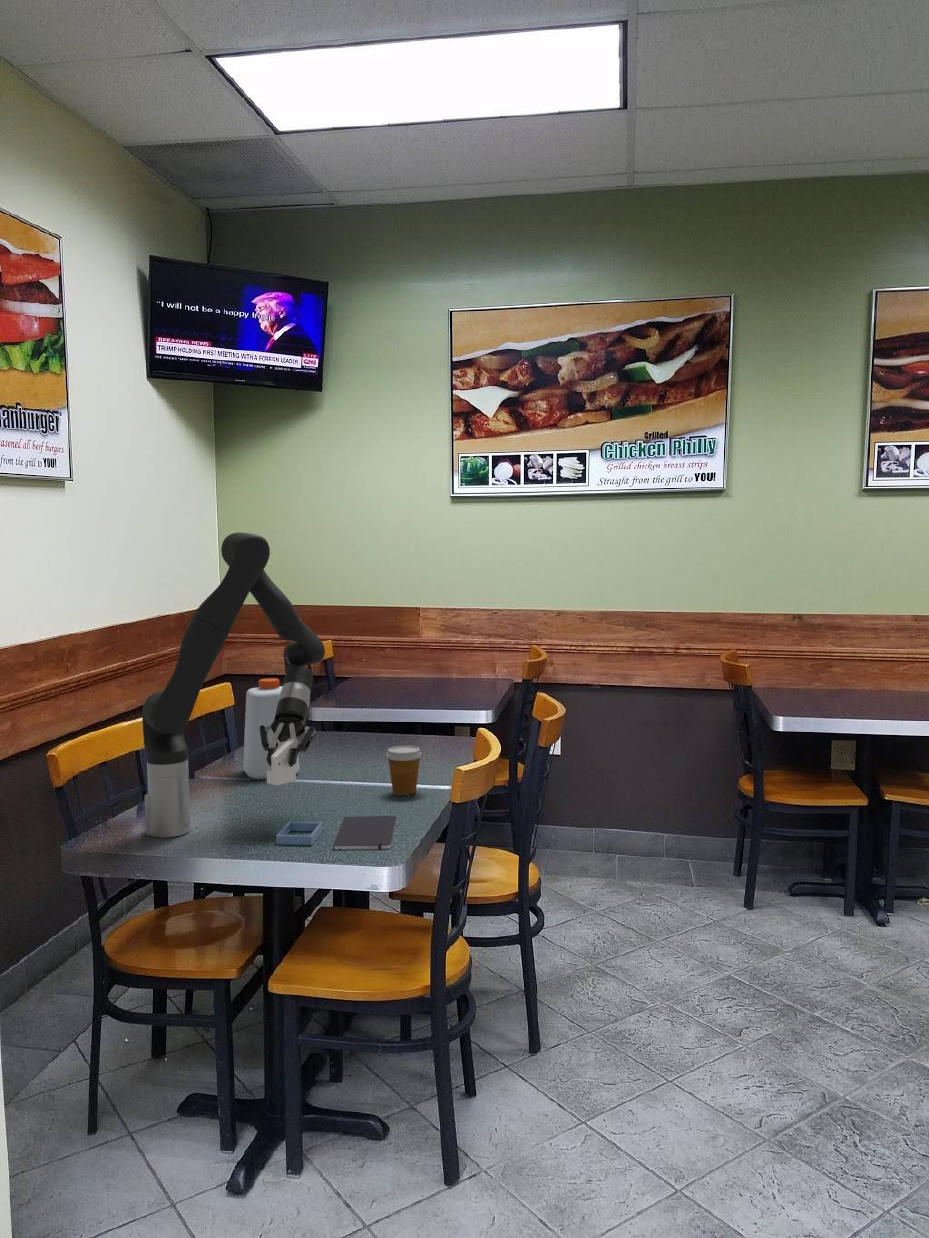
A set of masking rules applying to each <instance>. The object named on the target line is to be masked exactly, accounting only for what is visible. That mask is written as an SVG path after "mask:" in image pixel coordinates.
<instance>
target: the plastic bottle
mask: <svg viewBox="0 0 929 1238" xmlns="http://www.w3.org/2000/svg"><path fill="white" fill-rule="evenodd" d="M282 687H283V685H282V686H280V679H279V678H273V677H272V678H270V677H269V678H261V679H259V680H258V687H252V688H249V689H248V690H247V691H246V695H245V696H246V697H245V716H244V717H245V719H244V738H243V739H244V740H243V763H242V764H243V765H242V769H243V771H244V773H246V775H247V776H248V777H249V778H250V779H253V780H267V770H269V769H271V766H270V765H269V764H268V762H267V754H268V751H265V750H264V748H263V746H262V742H261V734H260V726H262V725H263V726H264V727H267V726H271V724H272V723H273V722H274V719H275V714H276V709H277V705H278V700H279V696H280V692H281V690H282ZM273 735H274V733H273V731H271V732H270V734H269V736H267V737H268V744H270V742H271V741H272V737H273ZM285 742H286V741H284V742H282V743H281V745H280V746H279V747H278V749H279V748H281V746H282V745H283V744H284V743H285ZM278 749H277V750H278ZM277 750H276V751H277ZM299 772H300V760H299V755H298V756H297V762H296V775H297V774H298V773H299Z"/></svg>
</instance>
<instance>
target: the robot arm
mask: <svg viewBox="0 0 929 1238" xmlns="http://www.w3.org/2000/svg"><path fill="white" fill-rule="evenodd" d="M270 550H271V549H270V545H269V543H268V541H267V539H266V538H265V537H264V536H262V535H259V534H255V533H247V532H233V533H230V534H228V535H227V536H226V537H225V538H224V540H223V541H222V543H221V548H220V552H221V556H222V560H223V561H224V562H225V563H226V565H227V566H228V569H227V571H226V573H225V575H224V578H223V579H222V581H221V582H220V583H219V585H218V586H217V587H216V589H215V590H213V592H212V593H211V594H209V595H208V596H207V597H206V599H204V601H202V602H201V604H200V605H199V606H198V608H196V610H195V612H194V614H193V615H192V617H191V619H190V621H189V623H188V625H187V627H186V629H185V632H184V634H183V636H182V640H181V641H180V648H179V651H178V656H177V660H176V665H175V669H174V671H173V673H172V675H171V677H170V678H169V681H168V683H167V684H166V686H165V687H164V690H159V691H155V692H153V693H151V695H149V696H148V697H147V698H146V700H144V704H143V706H142V711H141V712H142V715H141V717H142V733H143V746H144V750H145V754H146V768H147V769H146V773H147V775H146V776H147V793H146V794H145V795H144V814H145V816H144V817H145V821H144V822H145V836H151V837H153V838H159V839H160V838H161V839H162V838H163V839H164V838H165V839H166V838H175V837H180V836H183V835H186V834H188V833H190V832H191V829H192V828H191V821H192V820H191V806H190V805H191V803H190V801H191V800H190V799H191V798H190V777H189V776H190V774H189V773H190V772H189V748H188V746H187V744H186V743H187V742H186V740H185V736H184V728H185V726H187V724H188V723H189V721H190V718H191V715H192V713H193V711H194V708H195V705H196V703H197V699H198V696H199V694H200V692H201V689H202V687H203V684H204V682H205V680H206V678H207V676H208V675H209V673H210V671H211V669H212V668H213V665H214V664H215V662H216V660H217V658H218V656H219V654H220V652H221V650H222V648H223V647H224V645H225V642H226V641H227V638H228V637H229V634H230V632H231V629H232V628H233V625H234V623H235V621H236V619H237V618H238V616H239V614H240V611H241V609H242V607H243V605H244V603H245V601H246V599H247V598H248V595H249V594H251V596H252V597H253V598H254V600H256V603H258V605H259V607H260V609H261V610H262V611H263V613H264V614H265V616H266V617H267V619H268V622H269V623H270V624H271V627H272V628H273V629H274V631H275V633H276V635H278V637H279V638H280V639H281V640H285V641H290V642H288V643H287V644H286V646H285V647H284V649H283V655H282V657H283V661H284V679H283V683H282V686H283V687H282V690H281V692H280V696H279V700H278V705H277V709H276V714H275V719H274V722H273V723H272V724H271V726H267V727H264V726H263V725H262V726H260V734H261V742H262V746H263V748H264V750H265V751H268V754H267V762H268V764H269V765H270V766H271V756H272V755H273V754H274V753H275V752H276V750H277V749H278V747H279V746H280V745H281V743H282V742H284V741H287V740H288V739H289V738H291V740H293V739H295V741H294V743H293V744H292V749H291V751H290V756H289V761H288V763H289V766H290V767H293V765H294V764H296V762H297V756H298V757H299V754H300V752H303V753H304V752H307V751H308V749H309V747H310V745H311V744H312V742H313V740H314V738H315V736H316V734H317V732H316V729H315V726H313V725H310V726H307V725H306V721H307V716H308V713H309V707H310V699H311V692H312V690H311V689H312V686H313V679H314V675H313V674H314V673H313V672H312V670H311V669H310V668H308V667H307V666H311V665H314V664H319V663H320V662H322V661H323V660H324V658H325V656H326V648H325V645H324V642H323V641H322V640H321V638H320V637H319V636H318V635H317V633H315V632H314V631H313V630H312V629H311V628H310V627H309V626H308V625H307V624H306V623H305V622H303V621H302V619H301V616H299V614H298V612H297V611H296V609H295V607H294V604H292V602H291V600H290V599H289V598H288V597H287V596H286V595H285V594H284V592H283V591H282V590H281V589H280V588H279V587H278V586H277V585H276V584H275V583H274V581H272V579H271V578H270V577H269V575H268V574H267V572H266V571H265V568H266V567H267V565H268V563H269V559H270V555H271V551H270ZM271 731H273V733H274V735H273V737H272V741H271V742H270V744H268V737H267V736H269V734H270V732H271ZM303 734H304V736H303V738H302V740H301V742H300V743H299V737H301V736H302V735H303Z"/></svg>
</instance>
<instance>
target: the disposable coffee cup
mask: <svg viewBox="0 0 929 1238" xmlns="http://www.w3.org/2000/svg"><path fill="white" fill-rule="evenodd" d="M421 756H422V752H421V749H420V748H419V747H418V746H414V745H397V746H392V747H390V748H388V749H387V752H386V757H387V760H388V768H389V774H390V781H391V790H392V794H393V793H395V794H399V795H407V794H413V793H415V792H416V793H417V787H418V785H417V784H418V777H419V769H420V759H421ZM416 793H415V794H416ZM395 794H394V795H395ZM399 795H398V796H399ZM413 795H414V794H413Z"/></svg>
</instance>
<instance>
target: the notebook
mask: <svg viewBox="0 0 929 1238" xmlns="http://www.w3.org/2000/svg"><path fill="white" fill-rule="evenodd" d="M396 823H397V816H396V815H369V816H368V815H367V816H366V815H363V816H357V815H354V816H344V817H343V820H342V823H341V826H340V828H339V830H338V833H337V836H336V838H335V840H334V843H333V845H332V848H333V849H332V850H334V849H335V850H338V849H341V850H388V849H389V850H390V849H391V847H392V842H393V838H394V837H393V836H394V833H395V826H396ZM338 851H339V850H338Z"/></svg>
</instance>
